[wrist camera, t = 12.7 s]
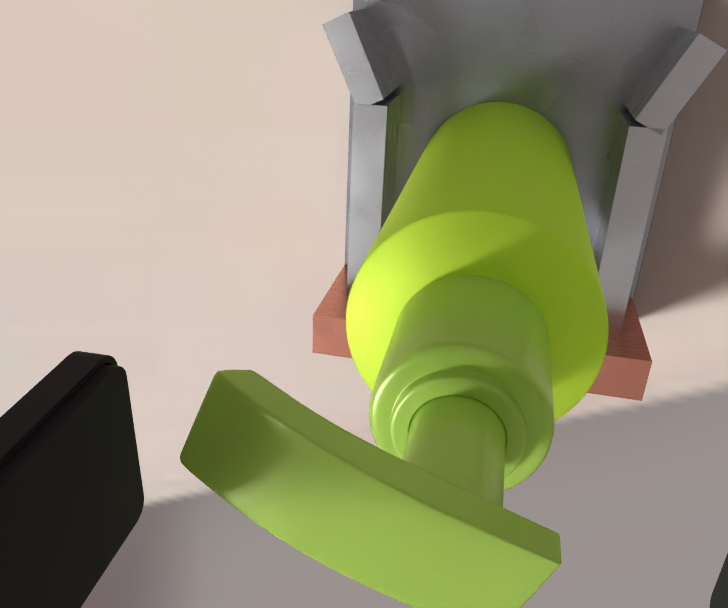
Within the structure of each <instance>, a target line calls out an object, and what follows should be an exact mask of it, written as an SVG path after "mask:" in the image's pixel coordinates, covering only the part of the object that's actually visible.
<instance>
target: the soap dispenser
mask: <svg viewBox="0 0 728 608" xmlns="http://www.w3.org/2000/svg"><path fill="white" fill-rule="evenodd" d="M608 330H609V328H608V315H607V309H606V304H605V300H604V296H603V291H602V287H601V283H600V279H599V275H598V270H597V266H596V262H595V258H594V254H593V249H592V245H591V241H590V237H589V233H588V228H587V224H586V220H585V216H584V212H583V207H582V203H581V199H580V195H579V191H578V186H577V182H576V178H575V174H574V170H573V165H572V161H571V157H570V153H569V150H568V148H567V145H566V143H565V141H564V139H563V138H562V136H561V135H560V133H559V132H558V130H557V129H556V128H555V127H554V126H553V125H552V124H551V123H550V122H549V121H548V120H547V119H546V118H544V117H543V116H542V115H540V114H539V113H537V112H535V111H533V110H531V109H529V108H527V107H524V106H521V105H518V104H513V103H507V102H488V103H482V104H478V105H474V106H471V107H469V108H466V109H464V110H462V111H460V112H458V113H456V114H455V115H453V116H452V117H450V118H449V119H448V120H447V121H445V122H444V123H443V124H442V125H441V126H440V127H439V128H438V129H437V131H436V132H435V133H434V135H433V136H432V137H431V139H430V141H429V142H428V144H427V146H426V148H425V150H424V152H423V153H422V155H421V157H420V159H419V161H418V163H417V164H416V166H415V168H414V170H413V172H412V174H411V175H410V177H409V179H408V181H407V183H406V185H405V186H404V188H403V190H402V192H401V194H400V196H399V197H398V199H397V201H396V203H395V205H394V207H393V208H392V210H391V212H390V214H389V216H388V218H387V219H386V221H385V223H384V225H383V227H382V229H381V231H380V232H379V234H378V236H377V238H376V240H375V242H374V243H373V245H372V247H371V249H370V251H369V253H368V254H367V256H366V258H365V260H364V262H363V264H362V265H361V267H360V269H359V271H358V273H357V275H356V277H355V279H354V281H353V284H352V287H351V290H350V293H349V297H348V301H347V308H346V333H347V340H348V345H349V348H350V352H351V355H352V358H353V360H354V363H355V365H356V367H357V369H358V371H359V373H360V375H361V376H362V378H363V379H364V381H365V382H366V384H367V385H368V386H369V388H370V389H371V390H372V395H371V399H370V407H369V419H370V426H371V431H372V434H373V437H374V440H375V442H376V444H377V446H378V447H376V446H374V445H372V444H370V443H368V442H366V441H364V440H362V439H360V438H359V437H357V436H355V435H353V434H351V433H349V432H348V431H346V430H344V429H342V428H340V427H339V426H337V425H335V424H333V423H332V422H330V421H328V420H327V419H325V418H323V417H322V416H320V415H318V414H317V413H315V412H313V411H312V410H310V409H309V408H307V407H306V406H304V405H302V404H301V403H299V402H298V401H296V400H295V399H293V398H292V397H290V396H289V395H288V394H286V393H285V392H283V391H282V390H280V389H279V388H278V387H276V386H275V385H273V384H272V383H270V382H269V381H268V380H266V379H265V378H263V377H262V376H260V375H259V374H257V373H256V372H254V371H251V370H224V371H218V372H217V373H216V374H215V376H214V378H213V380H212V382H211V384H210V387H209V389H208V391H207V394H206V396H205V398H204V400H203V403H202V405H201V407H200V410H199V412H198V414H197V417H196V419H195V421H194V424H193V426H192V428H191V431H190V433H189V435H188V438H187V440H186V442H185V445H184V447H183V450H182V452H181V455H180V460H181V463H182V464H183V465H184V466H185V467H186V468H187V469H188V470H189V471H190V472H191V473H192V474H194V475H195V476H196V477H197V478H198V479H199V480H201V481H202V482H203V483H204V484H205V485H207V486H208V487H209V488H210V489H212V490H213V491H214V492H215V493H217V494H218V495H219V496H220V497H222V498H223V499H224V500H226V501H227V502H228V503H229V504H231V505H232V506H233V507H235V508H236V509H237V510H239V511H240V512H241V513H243V514H244V515H245V516H247V517H248V518H250V519H251V520H252V521H254V522H255V523H257V524H258V525H260V526H261V527H263V528H264V529H265V530H267V531H269V532H270V533H271V534H273V535H275V536H276V537H278V538H279V539H281V540H282V541H284V542H286V543H287V544H289V545H290V546H292V547H294V548H295V549H297V550H299V551H300V552H302V553H304V554H306V555H308V556H309V557H311V558H313V559H315V560H316V561H318V562H320V563H322V564H324V565H326V566H327V567H329V568H331V569H333V570H335V571H337V572H339V573H341V574H343V575H345V576H347V577H349V578H351V579H353V580H355V581H357V582H359V583H362V584H364V585H366V586H368V587H370V588H372V589H374V590H376V591H379V592H381V593H383V594H385V595H388V596H390V597H392V598H394V599H396V600H399V601H401V602H403V603H405V604H408V605H410V606H412V607H415V608H521V607H522V606H523V605H524V604H525V603H526V602H527V601H528V600H529V599H530V598H531V596H532V595H533V594H534V593H535V592H536V591H537V590H538V589H539V588H540V587H541V586H542V585H543V583H544V582H545V581H546V580H547V579H548V578H549V577H550V576H551V575H552V574H553V572H554V571H555V570H556V569H557V568H558V567H559V566H560V564H561V550H560V536H559V534H558V533H556V532H554V531H552V530H550V529H548V528H546V527H543V526H541V525H539V524H537V523H535V522H532V521H530V520H528V519H526V518H524V517H522V516H520V515H518V514H515V513H513V512H511V511H509V510H507V509H505V508H503V492H504V491H505V490H508V489H510V488H512V487H514V486H516V485H518V484H520V483H521V482H522V481H524V480H526V479H527V478H528V477H529V476H531V475H532V474H533V473H534V472H535V471H536V470H537V468H538V467H539V466H540V465H541V464H542V462H543V461H544V459H545V457H546V455H547V453H548V451H549V449H550V446H551V442H552V438H553V434H554V421H556V420H557V419H559V418H560V417H562V416H563V415H564V414H566V413H567V412H568V411H569V410H571V409H572V408H573V407H574V406H575V405H576V404H577V403H578V402H579V401H580V400H581V399H582V398H583V397H584V395H585V394H586V393H587V392H588V390H589V389H590V387H591V386H592V384H593V383H594V381H595V379H596V377H597V375H598V373H599V371H600V369H601V366H602V364H603V361H604V358H605V354H606V350H607V344H608Z"/></svg>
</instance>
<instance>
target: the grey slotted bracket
mask: <svg viewBox="0 0 728 608" xmlns="http://www.w3.org/2000/svg"><path fill="white" fill-rule="evenodd" d="M703 2H704V0H353V11H352V12H348V13H346V14H344V15H342V16H340V17H338V18H336V19H333V20H331V21H329V22H327V23H325V24H323V28H324V30H325V32H326V35H327V37H328V40H329V42H330V45H331V47H332V49H333V52H334V54H335V57H336V59H337V62H338V64H339V66H340V69H341V71H342V74H343V76H344V79H345V81H346V83H347V86H348V88H349V91H350V122H349V152H348V183H347V213H346V244H345V265H344V267H343V269H342V270H341V272H340V273H339V275H338V276H337V278H336V280H335V281H334V283H333V284H332V286H331V288H330V289H329V291H328V292H327V294H326V295H325V297H324V299H323V300H322V302H321V303H320V305H319V307H318V308H317V310H316V311H315V313H314V315H313V353H320V354H327V355H334V356H341V357H347V358H352V355H351V352H350V348H349V345H348V340H347V333H346V308H347V301H348V297H349V293H350V290H351V287H352V284H353V281H354V279H355V277H356V275H357V273H358V271H359V269H360V267H361V265H362V264H363V262H364V260H365V258H366V256H367V254H368V253H369V251H370V249H371V247H372V245H373V243H374V242H375V240H376V238H377V236H378V234H379V232H380V231H381V229H382V227H383V225H384V223H385V221H386V219H387V218H388V216H389V214H390V212H391V210H392V208H393V207H394V205H395V203H396V201H397V199H398V197H399V196H400V194H401V192H402V190H403V188H404V186H405V185H406V183H407V181H408V179H409V177H410V175H411V174H412V172H413V170H414V168H415V166H416V164H417V163H418V161H419V159H420V157H421V155H422V153H423V152H424V150H425V148H426V146H427V144H428V142H429V141H430V139H431V137H432V136H433V135H434V133H435V132H436V131H437V129H438V128H439V127H440V126H441V125H442V124H443V123H444V122H445V121H447V120H448V119H449V118H450V117H452V116H453V115H455V114H456V113H458V112H460V111H462V110H464V109H466V108H469V107H471V106H474V105H478V104H482V103H488V102H507V103H513V104H518V105H521V106H524V107H527V108H529V109H531V110H533V111H535V112H537V113H539V114H540V115H542V116H543V117H544V118H546V119H547V120H548V121H549V122H550V123H551V124H552V125H553V126H554V127H555V128H556V129H557V130H558V132H559V133H560V135H561V136H562V138H563V139H564V141H565V143H566V145H567V148H568V150H569V153H570V157H571V161H572V165H573V170H574V174H575V178H576V182H577V186H578V191H579V195H580V199H581V203H582V207H583V212H584V216H585V220H586V224H587V228H588V233H589V237H590V241H591V245H592V249H593V254H594V258H595V262H596V266H597V270H598V275H599V279H600V283H601V287H602V291H603V296H604V300H605V304H606V309H607V315H608V328H609V330H608V344H607V350H606V354H605V358H604V361H603V364H602V366H601V369H600V371H599V373H598V375H597V377H596V379H595V381H594V383H593V384H592V386H591V387H590V389H589V390H588V392H587V393H592V394H599V395H606V396H613V397H619V398H626V399H633V400H640V401H642V398H643V394H644V391H645V387H646V383H647V379H648V375H649V371H650V368H651V364H652V360H651V357H650V353H649V350H648V347H647V344H646V341H645V338H644V334H643V331H642V328H641V325H640V322H639V318H638V315H637V312H636V309H635V306H634V303H633V298H634V293H635V289H636V285H637V281H638V277H639V272H640V268H641V264H642V260H643V255H644V251H645V247H646V243H647V238H648V234H649V230H650V226H651V222H652V217H653V213H654V209H655V205H656V200H657V196H658V192H659V188H660V183H661V179H662V175H663V171H664V167H665V162H666V158H667V154H668V150H669V145H670V141H671V137H672V133H673V128H674V124H675V120H676V116H677V115H678V114H679V112H680V111H681V110H682V108H683V107H684V106H685V105H686V103H687V102H688V101H689V99H690V98H691V97H692V95H693V94H694V93H695V92H696V90H697V89H698V88H699V86H700V85H701V84H702V83H703V81H704V80H705V79H706V77H707V76H708V75H709V73H710V72H711V71H712V70H713V68H714V67H715V66H716V64H717V63H718V62H719V61H720V59H721V58H722V57H723V55H724V54H725V53H726V51H727V50H726V49H724V48H723V47H721V46H719V45H718V44H716V43H715V42H713V41H711V40H710V39H708V38H707V37H705V36H703V35H702V34H700V33H698V32H696V31H697V27H698V23H699V19H700V14H701V10H702V6H703Z"/></svg>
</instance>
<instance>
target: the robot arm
mask: <svg viewBox="0 0 728 608" xmlns="http://www.w3.org/2000/svg"><path fill="white" fill-rule="evenodd" d="M143 504H144V494H143V487H142V480H141V473H140V466H139V459H138V452H137V445H136V438H135V431H134V424H133V417H132V410H131V403H130V396H129V389H128V382H127V375H126V371H125V370H124V368H123V367H120V366H118V365H117V362H116V360H115V359H114V358H113V357H112V356H109V355H102V354H95V353H88V352H81V351H76V352H73V353H71V354H70V355H68V356H67V357H66V358H65V359H64V360H63V361H62V362H61V363H60V364H59V365H57V366H56V367H55V368H54V369H53V370H52V371H51V372H50V373H49V374H48V375H46V376H45V377H44V378H43V379H42V380H41V381H40V382H39V383H38V384H37V385H35V386H34V387H33V388H32V389H31V390H30V391H29V392H28V393H27V394H26V395H24V396H23V397H22V398H21V399H20V400H19V401H18V402H17V403H16V404H15V405H13V406H12V407H11V408H10V409H9V410H8V411H7V412H6V413H5V414H4V415H2V416H1V417H0V608H81V606H82V604H83V603H84V602H85V600H86V599H87V597H88V595H89V594H90V592H91V591H92V589H93V588H94V586H95V585H96V583H97V582H98V580H99V579H100V577H101V576H102V574H103V573H104V571H105V570H106V568H107V567H108V565H109V563H110V562H111V561H112V559H113V558H114V556H115V554H116V553H117V552H118V550H119V548H120V547H121V545H122V544H123V542H124V541H125V539H126V538H127V536H128V535H129V533H130V532H131V530H132V529H133V527H134V526H135V524H136V523H137V521H138V519H139V517H140V514H141V512H142V509H143ZM710 608H728V554H727V556H726V559H725V562H724V564H723V567H722V569H721V572H720V575H719V577H718V580H717V582H716V585H715V588H714V590H713V593H712V596H711V600H710Z"/></svg>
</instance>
